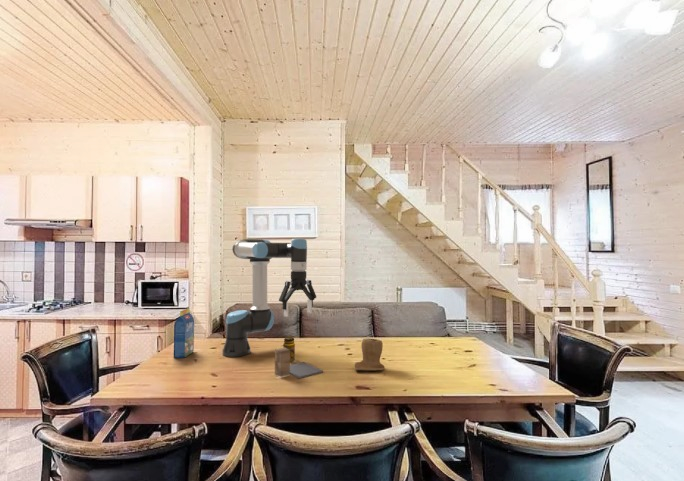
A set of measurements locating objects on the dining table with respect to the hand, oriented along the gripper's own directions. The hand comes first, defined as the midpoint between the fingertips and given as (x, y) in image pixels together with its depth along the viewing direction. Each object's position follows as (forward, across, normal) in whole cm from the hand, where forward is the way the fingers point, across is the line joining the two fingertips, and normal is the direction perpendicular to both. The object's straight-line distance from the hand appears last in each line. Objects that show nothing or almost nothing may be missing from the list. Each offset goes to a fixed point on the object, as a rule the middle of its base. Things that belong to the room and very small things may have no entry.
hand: (298, 314), depth 171 cm
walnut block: (+27, -8, +1) cm, 29 cm away
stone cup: (+28, +30, -19) cm, 45 cm away
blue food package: (+28, -32, +64) cm, 77 cm away
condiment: (+28, +6, +18) cm, 33 cm away
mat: (+27, +3, +1) cm, 28 cm away
